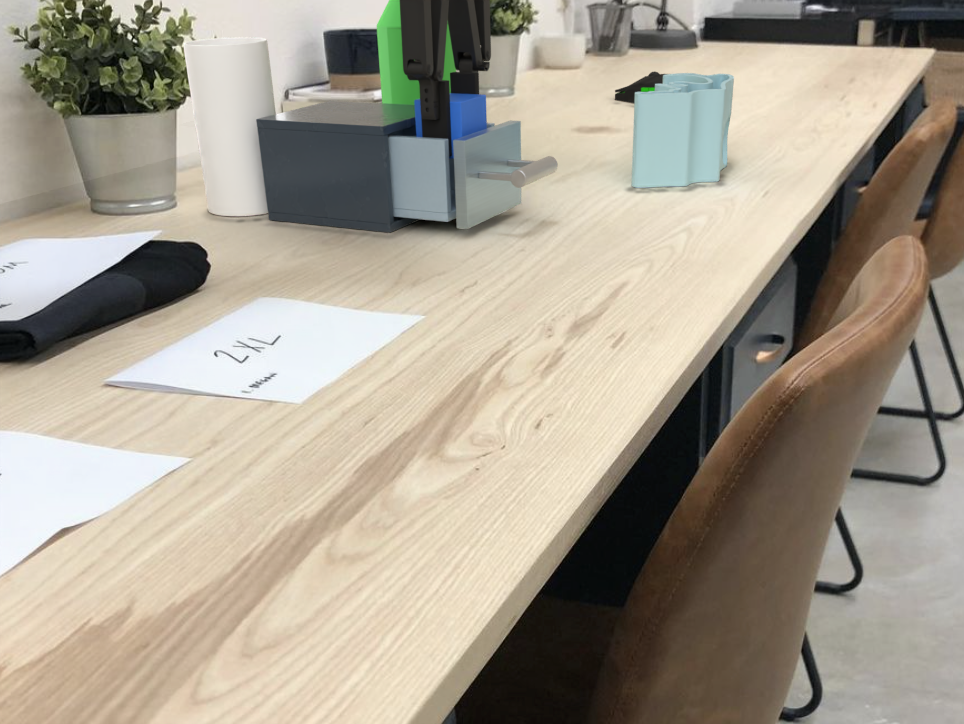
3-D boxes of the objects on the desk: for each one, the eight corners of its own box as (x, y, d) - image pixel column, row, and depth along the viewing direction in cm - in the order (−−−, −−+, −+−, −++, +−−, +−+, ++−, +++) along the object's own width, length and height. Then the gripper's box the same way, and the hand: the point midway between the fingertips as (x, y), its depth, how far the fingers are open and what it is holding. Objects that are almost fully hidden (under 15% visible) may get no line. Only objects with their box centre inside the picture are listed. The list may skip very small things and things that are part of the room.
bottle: (473, 164, 135) (466, -75, 122) (432, 177, 129) (419, -73, 116) (415, 158, 139) (401, -73, 126) (372, 171, 133) (353, -71, 120)
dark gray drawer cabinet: (454, 205, 116) (450, 106, 111) (390, 232, 107) (382, 126, 102) (338, 194, 122) (329, 100, 118) (268, 220, 113) (255, 119, 108)
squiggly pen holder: (721, 189, 119) (728, 94, 114) (629, 187, 121) (632, 94, 116) (728, 157, 134) (735, 72, 129) (646, 156, 136) (650, 73, 131)
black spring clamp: (680, 110, 166) (682, 81, 164) (600, 100, 177) (601, 73, 175) (728, 101, 172) (730, 73, 170) (648, 92, 183) (649, 65, 181)
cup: (239, 196, 123) (217, 36, 115) (301, 202, 120) (283, 37, 112) (192, 213, 117) (165, 44, 108) (256, 219, 113) (233, 46, 105)
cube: (417, 156, 106) (413, 99, 103) (443, 147, 110) (440, 92, 107) (462, 159, 104) (460, 102, 101) (487, 150, 108) (486, 94, 105)
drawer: (567, 207, 110) (567, 123, 106) (515, 234, 101) (514, 143, 97) (407, 193, 118) (402, 114, 114) (347, 217, 109) (339, 132, 105)
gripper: (454, -134, 103) (463, 132, 115) (344, -138, 90) (368, 165, 101) (526, -138, 100) (528, 136, 112) (425, -143, 86) (439, 170, 98)
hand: (452, 149), depth 107 cm, fingers closed on cube, 5 cm apart
